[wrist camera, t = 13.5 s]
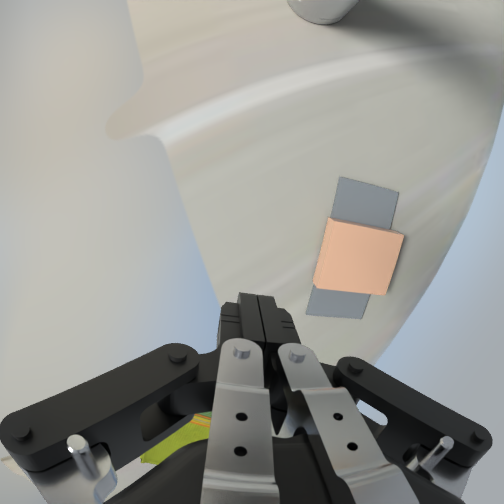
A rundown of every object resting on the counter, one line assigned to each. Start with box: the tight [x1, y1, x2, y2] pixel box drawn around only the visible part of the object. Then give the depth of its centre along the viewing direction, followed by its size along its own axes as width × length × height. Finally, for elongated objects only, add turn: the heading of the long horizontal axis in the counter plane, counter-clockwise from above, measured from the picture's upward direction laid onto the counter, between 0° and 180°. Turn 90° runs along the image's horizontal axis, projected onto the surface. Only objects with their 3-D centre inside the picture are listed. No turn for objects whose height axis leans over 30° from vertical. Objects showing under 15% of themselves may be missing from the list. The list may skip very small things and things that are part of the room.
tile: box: [313, 217, 404, 295], centre depth 42 cm, size 10×3×12 cm
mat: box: [306, 177, 399, 319], centre depth 44 cm, size 22×10×1 cm, turn 170°
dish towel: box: [140, 411, 212, 465], centre depth 54 cm, size 15×36×3 cm, turn 160°
